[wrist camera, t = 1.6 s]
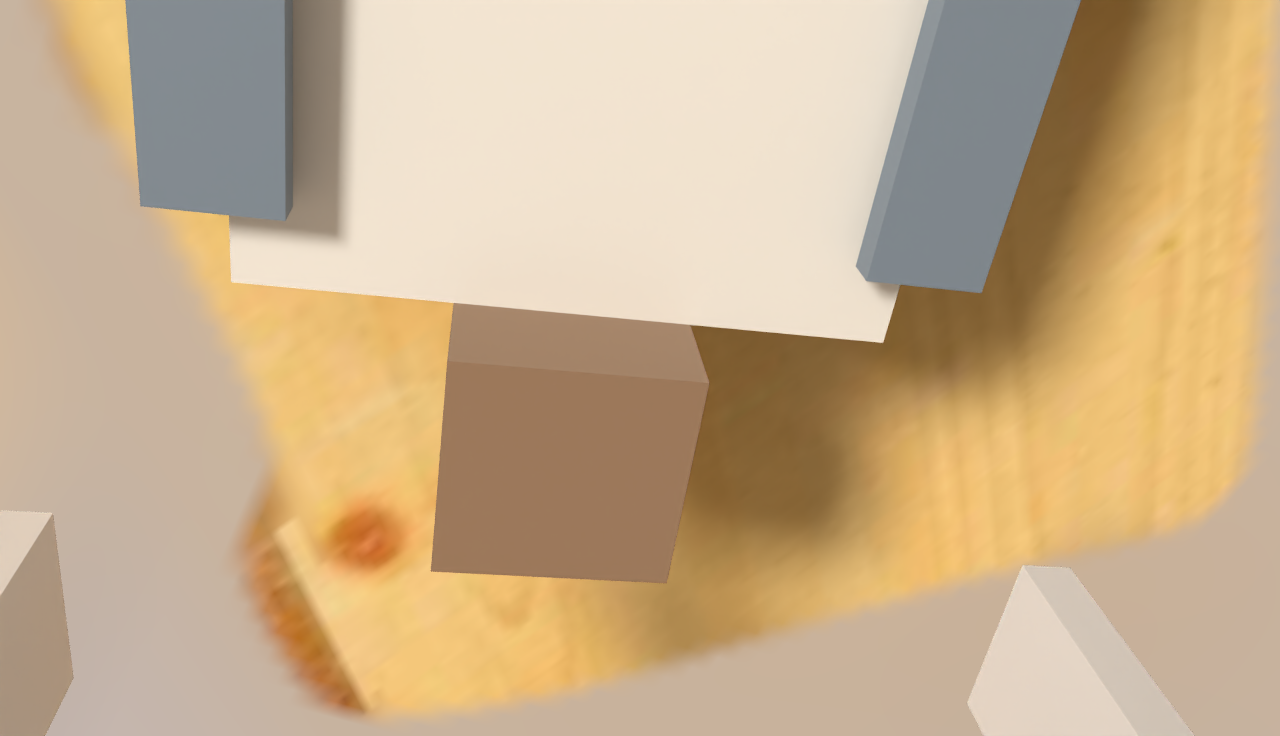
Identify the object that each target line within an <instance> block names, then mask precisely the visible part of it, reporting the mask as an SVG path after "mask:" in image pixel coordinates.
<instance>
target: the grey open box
mask: <svg viewBox="0 0 1280 736" xmlns="http://www.w3.org/2000/svg"><path fill="white" fill-rule="evenodd" d="M125 1H126V14H127V28H128V42H129V55H130V69H131V83H132V96H133V110H134V124H135V137H136V151H137V165H138V178H139V192H140V206H144V207H154V208H163V209H173V210H183V211H192V212H202V213H212V214H221V215H231V216H241V217H250V218H260V219H270V220H279V221H286V219H287V217H288V215H289V213H290V211H291V209H292V208H293V0H125ZM1080 2H1081V0H928V4H927V7H926V11H925V15H924V18H923V22H922V26H921V29H920V33H919V37H918V40H917V44H916V48H915V51H914V55H913V59H912V62H911V66H910V69H909V73H908V77H907V80H906V84H905V88H904V91H903V95H902V99H901V102H900V106H899V110H898V113H897V117H896V121H895V124H894V128H893V132H892V135H891V139H890V143H889V146H888V150H887V153H886V157H885V161H884V164H883V168H882V172H881V175H880V179H879V183H878V186H877V190H876V194H875V197H874V201H873V205H872V208H871V212H870V216H869V219H868V223H867V227H866V230H865V234H864V238H863V241H862V245H861V248H860V252H859V256H858V259H857V263H856V267H857V269H858V270H859V272H860V273H861V274H862V276H863V277H864V279H865V280H866V281H869V282H879V283H889V284H898V285H908V286H918V287H927V288H937V289H947V290H956V291H966V292H976V293H982V290H983V287H984V284H985V281H986V278H987V275H988V272H989V269H990V266H991V264H992V261H993V258H994V255H995V252H996V249H997V246H998V243H999V240H1000V237H1001V234H1002V231H1003V228H1004V225H1005V222H1006V219H1007V216H1008V213H1009V211H1010V208H1011V205H1012V202H1013V199H1014V196H1015V193H1016V190H1017V187H1018V184H1019V181H1020V178H1021V175H1022V172H1023V169H1024V166H1025V163H1026V160H1027V158H1028V155H1029V152H1030V149H1031V146H1032V143H1033V140H1034V137H1035V134H1036V131H1037V128H1038V125H1039V122H1040V119H1041V116H1042V113H1043V110H1044V107H1045V105H1046V102H1047V99H1048V96H1049V93H1050V90H1051V87H1052V84H1053V81H1054V78H1055V75H1056V72H1057V69H1058V66H1059V63H1060V60H1061V57H1062V55H1063V52H1064V49H1065V46H1066V43H1067V40H1068V37H1069V34H1070V31H1071V28H1072V25H1073V22H1074V19H1075V16H1076V13H1077V10H1078V7H1079V4H1080Z"/></svg>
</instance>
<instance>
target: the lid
mask: <svg viewBox="0 0 1280 736" xmlns="http://www.w3.org/2000/svg"><path fill="white" fill-rule="evenodd" d="M927 4H928V0H293V208H292V209H291V211H290V213H289V215H288V217H287V219H286V221H279V220H270V219H260V218H250V217H241V216H231V215H229V228H230V260H231V282H236V283H247V284H257V285H268V286H279V287H290V288H300V289H311V290H322V291H332V292H343V293H354V294H365V295H375V296H386V297H397V298H408V299H418V300H429V301H440V302H450V303H454V305H453V314H452V323H451V333H450V342H449V351H448V360H447V372H446V385H445V398H444V410H443V423H442V436H441V449H440V462H439V475H438V487H437V500H436V513H435V526H434V539H433V551H432V564H431V571H433V572H453V573H472V574H492V575H512V576H532V577H552V578H572V579H591V580H611V581H631V582H651V583H667V579H668V574H669V569H670V565H671V560H672V555H673V551H674V546H675V541H676V537H677V532H678V527H679V523H680V518H681V513H682V509H683V504H684V499H685V495H686V490H687V485H688V481H689V476H690V472H691V467H692V462H693V458H694V453H695V448H696V444H697V439H698V434H699V430H700V425H701V420H702V416H703V411H704V406H705V402H706V397H707V392H708V388H709V380H708V377H707V374H706V371H705V368H704V365H703V362H702V359H701V356H700V353H699V350H698V347H697V344H696V341H695V338H694V335H693V332H692V329H691V326H690V325H697V326H708V327H719V328H729V329H740V330H751V331H762V332H772V333H783V334H794V335H805V336H815V337H826V338H837V339H847V340H858V341H869V342H880V343H883V341H884V338H885V335H886V331H887V328H888V325H889V321H890V318H891V315H892V311H893V308H894V305H895V301H896V298H897V295H898V291H899V288H900V285H898V284H889V283H879V282H869V281H866V280H865V279H864V277H863V276H862V274H861V273H860V272H859V270H858V269H857V267H856V263H857V259H858V256H859V252H860V248H861V245H862V241H863V238H864V234H865V230H866V227H867V223H868V219H869V216H870V212H871V208H872V205H873V201H874V197H875V194H876V190H877V186H878V183H879V179H880V175H881V172H882V168H883V164H884V161H885V157H886V153H887V150H888V146H889V143H890V139H891V135H892V132H893V128H894V124H895V121H896V117H897V113H898V110H899V106H900V102H901V99H902V95H903V91H904V88H905V84H906V80H907V77H908V73H909V69H910V66H911V62H912V59H913V55H914V51H915V48H916V44H917V40H918V37H919V33H920V29H921V26H922V22H923V18H924V15H925V11H926V7H927Z"/></svg>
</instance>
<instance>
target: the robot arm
mask: <svg viewBox="0 0 1280 736" xmlns="http://www.w3.org/2000/svg"><path fill="white" fill-rule="evenodd" d="M72 680H73V670H72V661H71V653H70V645H69V637H68V629H67V622H66V614H65V606H64V598H63V590H62V582H61V574H60V566H59V558H58V550H57V542H56V534H55V526H54V518H53V513H42V512H22V511H4V510H3V511H2V510H0V736H45V735H46V733H47V730H48V729H49V727H50V725H51V723H52V721H53V719H54V717H55V715H56V713H57V711H58V709H59V706H60V704H61V702H62V700H63V698H64V696H65V694H66V692H67V690H68V688H69V686H70V684H71V682H72ZM967 705H968V707H969V708H970V710H971V712H972V714H973V716H974V718H975V720H976V722H977V724H978V726H979V728H980V730H981V732H982V734H983V736H1195V735H1194V734H1193V733H1192V731H1191V730H1190V729H1189V727H1188V726H1187V725H1186V723H1185V722H1184V721H1183V719H1182V718H1181V716H1180V715H1179V714H1178V713H1177V711H1176V710H1175V709H1174V707H1173V706H1172V704H1171V703H1170V702H1169V700H1168V699H1167V698H1166V696H1165V695H1164V693H1163V692H1162V691H1161V689H1160V688H1159V687H1158V685H1157V684H1156V683H1155V682H1154V680H1153V679H1152V677H1151V676H1150V675H1149V673H1148V672H1147V671H1146V669H1145V668H1144V666H1143V665H1142V664H1141V663H1140V661H1139V660H1138V658H1137V657H1136V656H1135V654H1134V653H1133V652H1132V650H1131V649H1130V648H1129V646H1128V645H1127V644H1126V642H1125V641H1124V640H1123V638H1122V637H1121V635H1120V634H1119V633H1118V632H1117V630H1116V629H1115V627H1114V626H1113V625H1112V623H1111V622H1110V621H1109V619H1108V618H1107V617H1106V615H1105V614H1104V613H1103V611H1102V610H1101V608H1100V607H1099V606H1098V604H1097V603H1096V602H1095V600H1094V599H1093V598H1092V596H1091V595H1090V594H1089V592H1088V591H1087V590H1086V588H1085V587H1084V586H1083V584H1082V583H1081V582H1080V580H1079V579H1078V578H1077V576H1076V575H1075V573H1074V572H1073V571H1072V569H1071V568H1067V567H1048V566H1029V565H1022V568H1021V570H1020V573H1019V575H1018V578H1017V580H1016V583H1015V585H1014V588H1013V590H1012V593H1011V595H1010V598H1009V600H1008V603H1007V605H1006V607H1005V610H1004V612H1003V615H1002V617H1001V620H1000V622H999V625H998V628H997V630H996V632H995V635H994V637H993V640H992V642H991V645H990V647H989V650H988V652H987V655H986V657H985V660H984V662H983V665H982V667H981V670H980V672H979V675H978V677H977V680H976V682H975V685H974V687H973V690H972V692H971V694H970V697H969V700H968V702H967Z"/></svg>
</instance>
